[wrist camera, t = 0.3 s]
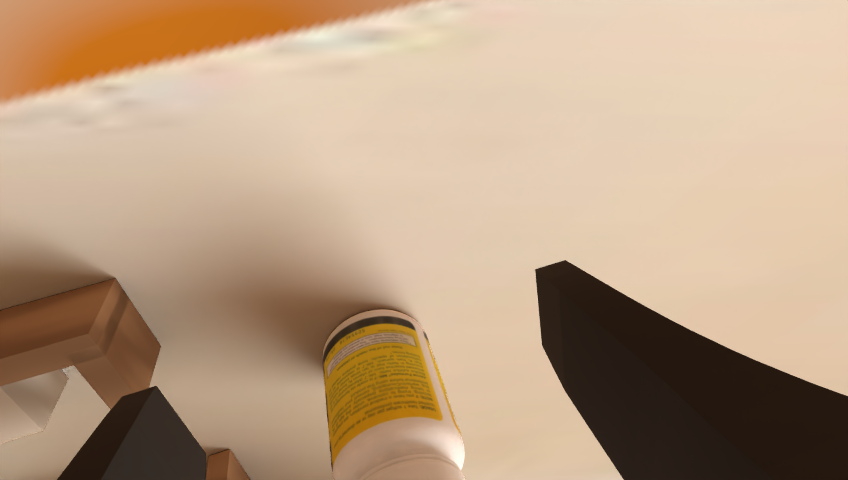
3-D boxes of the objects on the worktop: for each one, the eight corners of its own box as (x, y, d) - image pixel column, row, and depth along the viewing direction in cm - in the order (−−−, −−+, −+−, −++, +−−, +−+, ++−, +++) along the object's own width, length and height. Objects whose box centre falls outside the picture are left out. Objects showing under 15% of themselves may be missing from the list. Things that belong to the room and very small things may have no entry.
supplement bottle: (298, 350, 22) (304, 548, 15) (382, 287, 21) (430, 463, 14) (369, 400, 24) (402, 588, 18) (446, 344, 24) (512, 517, 17)
